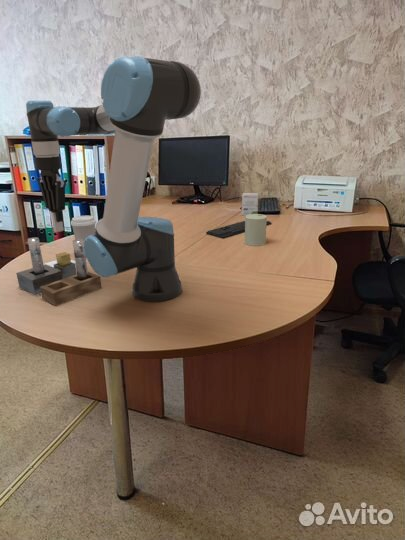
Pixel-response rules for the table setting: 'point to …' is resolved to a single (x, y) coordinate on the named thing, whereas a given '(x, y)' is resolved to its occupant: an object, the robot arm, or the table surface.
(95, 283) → the rack
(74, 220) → the coffee cup
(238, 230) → the dark grey ribbed block
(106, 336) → the table surface
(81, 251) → the test tube
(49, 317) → the table surface
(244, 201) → the ink box
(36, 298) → the table surface
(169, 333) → the table surface
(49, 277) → the block
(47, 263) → the external hard drive
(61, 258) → the yellow piece
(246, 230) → the can
